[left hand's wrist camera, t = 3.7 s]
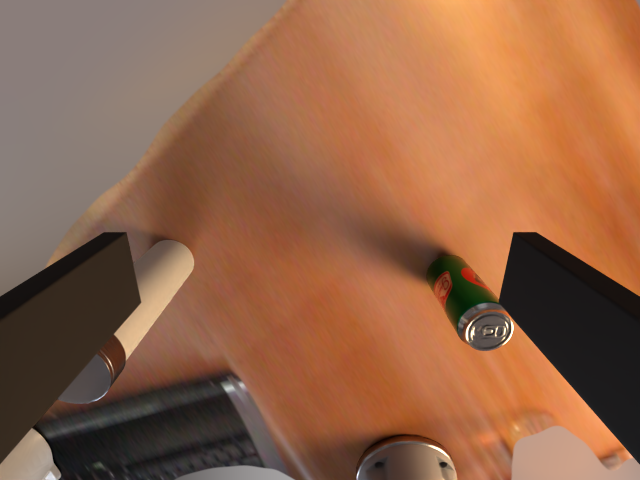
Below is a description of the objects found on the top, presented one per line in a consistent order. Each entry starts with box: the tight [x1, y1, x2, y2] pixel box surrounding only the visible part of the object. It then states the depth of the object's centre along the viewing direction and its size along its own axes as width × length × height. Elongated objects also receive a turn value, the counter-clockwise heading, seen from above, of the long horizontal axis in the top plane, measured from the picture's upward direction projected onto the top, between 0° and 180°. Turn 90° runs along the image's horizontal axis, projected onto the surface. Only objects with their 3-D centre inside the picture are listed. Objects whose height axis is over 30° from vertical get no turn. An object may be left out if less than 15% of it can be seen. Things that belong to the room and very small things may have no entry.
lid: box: [58, 335, 126, 404], centre depth 26 cm, size 6×6×2 cm
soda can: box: [426, 255, 513, 351], centre depth 38 cm, size 5×5×12 cm
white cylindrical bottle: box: [114, 240, 194, 360], centre depth 34 cm, size 5×5×19 cm
